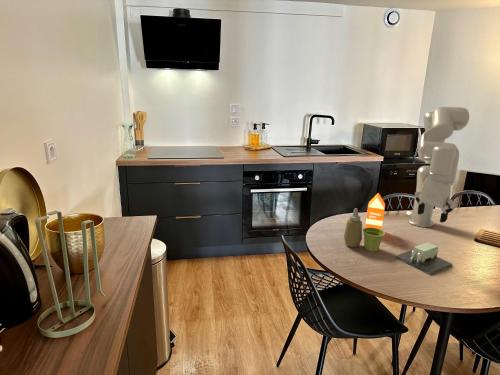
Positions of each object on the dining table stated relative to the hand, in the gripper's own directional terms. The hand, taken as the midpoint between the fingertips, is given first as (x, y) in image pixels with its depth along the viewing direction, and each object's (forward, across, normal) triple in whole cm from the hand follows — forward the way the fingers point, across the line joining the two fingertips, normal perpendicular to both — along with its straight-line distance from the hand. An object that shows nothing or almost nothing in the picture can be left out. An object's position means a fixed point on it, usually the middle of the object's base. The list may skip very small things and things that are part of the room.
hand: (431, 217), depth 141 cm
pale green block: (+17, 0, 0) cm, 17 cm away
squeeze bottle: (+20, -26, -15) cm, 36 cm away
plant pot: (+20, -19, -10) cm, 30 cm away
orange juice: (+20, -31, +5) cm, 37 cm away
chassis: (+20, 0, 0) cm, 20 cm away
